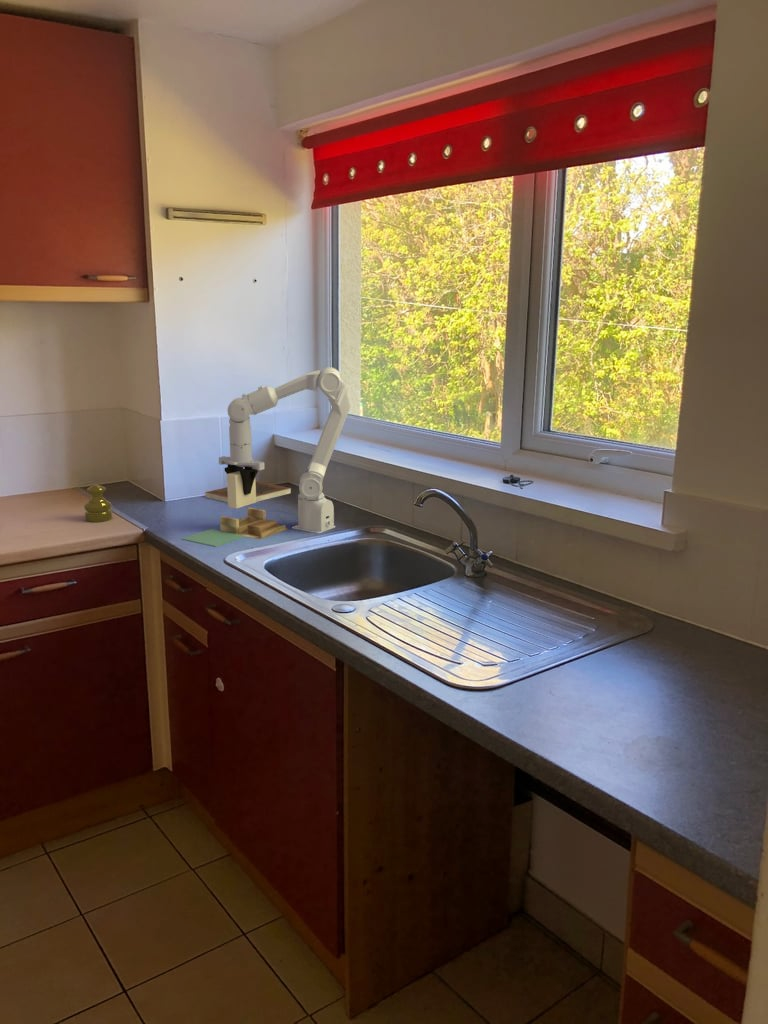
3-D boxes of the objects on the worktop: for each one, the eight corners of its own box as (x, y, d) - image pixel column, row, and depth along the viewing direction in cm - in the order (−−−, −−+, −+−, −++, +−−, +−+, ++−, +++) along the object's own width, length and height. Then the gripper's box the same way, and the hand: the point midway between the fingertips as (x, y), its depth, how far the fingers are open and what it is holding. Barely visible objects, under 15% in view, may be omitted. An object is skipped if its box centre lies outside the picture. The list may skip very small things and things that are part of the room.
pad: (244, 537, 221) (244, 535, 221) (216, 548, 212) (215, 546, 212) (211, 530, 227) (211, 528, 227) (181, 540, 218) (181, 538, 218)
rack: (288, 530, 229) (288, 514, 228) (259, 540, 219) (259, 524, 218) (249, 522, 236) (248, 507, 235) (220, 532, 226) (219, 516, 225)
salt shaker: (116, 516, 241) (114, 482, 239) (105, 523, 234) (103, 488, 232) (92, 515, 242) (89, 481, 240) (80, 522, 235) (77, 487, 232)
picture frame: (240, 507, 255) (290, 495, 271) (239, 499, 254) (290, 487, 270) (205, 499, 265) (256, 487, 281) (204, 491, 264) (255, 480, 280)
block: (256, 502, 230) (255, 470, 228) (236, 508, 224) (235, 475, 221) (247, 500, 232) (246, 469, 229) (228, 506, 225) (226, 474, 223)
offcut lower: (280, 529, 228) (280, 525, 228) (261, 536, 221) (260, 532, 221) (267, 527, 230) (266, 522, 230) (247, 533, 224) (247, 529, 223)
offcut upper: (277, 525, 227) (277, 521, 227) (259, 532, 221) (259, 527, 221) (265, 523, 229) (265, 519, 229) (247, 529, 223) (247, 525, 223)
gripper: (210, 443, 224) (212, 492, 227) (251, 448, 216) (253, 499, 220) (228, 439, 230) (229, 487, 233) (269, 444, 222) (270, 494, 226)
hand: (242, 493), depth 227 cm, fingers closed on block, 3 cm apart
